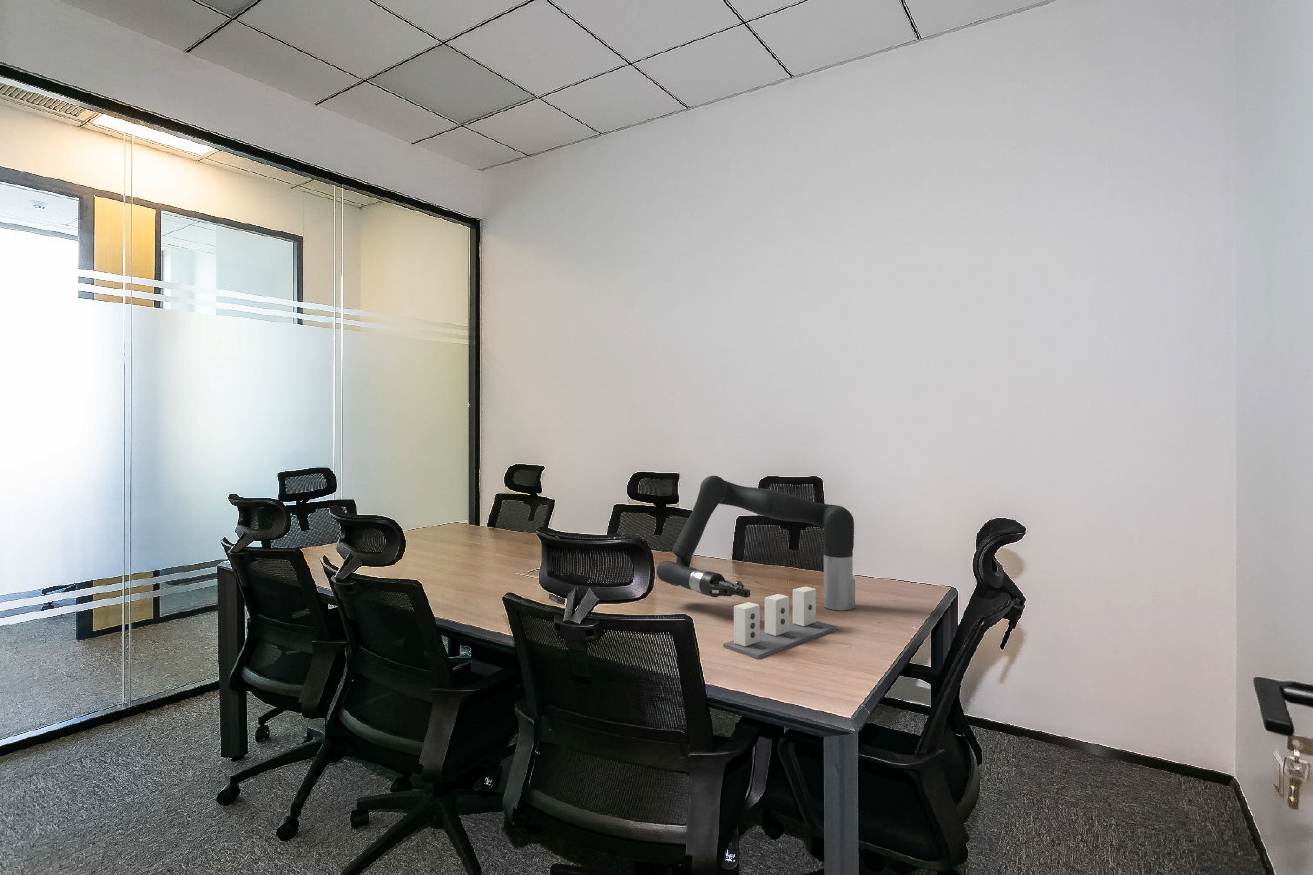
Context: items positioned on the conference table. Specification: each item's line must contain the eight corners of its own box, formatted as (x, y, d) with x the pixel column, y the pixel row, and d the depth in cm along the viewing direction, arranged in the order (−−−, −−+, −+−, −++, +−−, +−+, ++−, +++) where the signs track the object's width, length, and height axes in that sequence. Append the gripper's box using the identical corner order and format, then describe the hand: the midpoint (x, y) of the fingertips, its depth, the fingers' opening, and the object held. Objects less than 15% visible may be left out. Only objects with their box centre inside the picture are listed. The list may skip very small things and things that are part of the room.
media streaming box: (601, 600, 227) (601, 591, 227) (564, 607, 218) (564, 598, 218) (581, 591, 239) (581, 583, 239) (545, 597, 230) (544, 589, 230)
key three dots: (733, 642, 177) (733, 606, 177) (748, 637, 181) (748, 602, 181) (745, 646, 174) (745, 609, 174) (760, 641, 178) (760, 605, 178)
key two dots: (764, 632, 186) (764, 597, 186) (777, 628, 190) (777, 593, 190) (776, 636, 183) (776, 600, 182) (789, 631, 187) (789, 596, 186)
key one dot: (792, 623, 194) (792, 589, 194) (804, 619, 198) (804, 586, 198) (804, 626, 191) (804, 592, 191) (816, 622, 195) (816, 588, 195)
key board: (723, 647, 177) (723, 643, 177) (803, 620, 201) (803, 616, 201) (757, 659, 168) (757, 654, 168) (837, 629, 192) (837, 625, 192)
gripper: (692, 573, 202) (733, 584, 189) (721, 568, 211) (763, 578, 198) (691, 597, 202) (733, 610, 189) (721, 591, 211) (762, 602, 198)
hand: (748, 593), depth 194 cm, fingers closed
